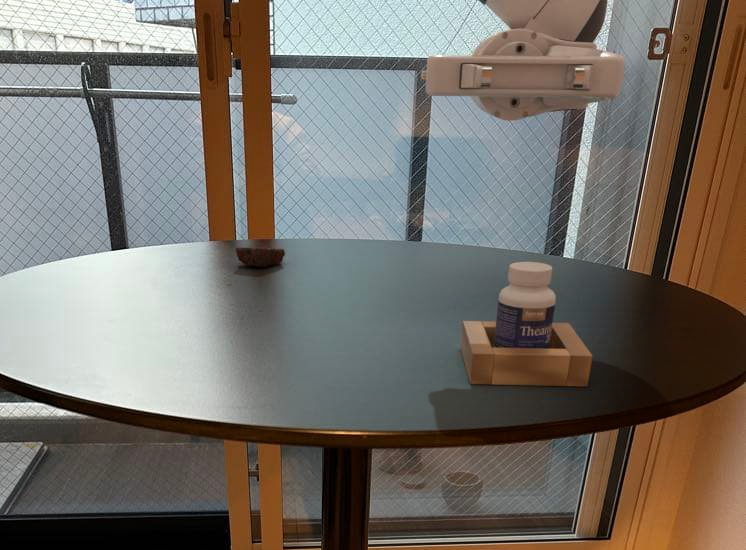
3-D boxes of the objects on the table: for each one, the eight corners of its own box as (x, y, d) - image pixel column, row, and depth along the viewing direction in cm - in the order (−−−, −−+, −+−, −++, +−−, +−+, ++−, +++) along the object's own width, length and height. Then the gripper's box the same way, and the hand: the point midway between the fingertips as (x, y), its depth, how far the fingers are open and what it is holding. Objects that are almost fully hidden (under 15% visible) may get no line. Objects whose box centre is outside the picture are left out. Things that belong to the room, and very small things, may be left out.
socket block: (564, 351, 85) (569, 322, 83) (587, 386, 75) (592, 355, 74) (460, 348, 85) (462, 320, 84) (469, 384, 76) (472, 353, 74)
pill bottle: (518, 379, 77) (531, 274, 72) (480, 364, 81) (490, 264, 76) (557, 369, 80) (572, 268, 75) (519, 355, 83) (531, 257, 78)
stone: (228, 267, 118) (227, 245, 117) (251, 258, 124) (251, 237, 123) (268, 271, 116) (267, 249, 115) (290, 262, 122) (290, 240, 120)
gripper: (421, 41, 89) (427, 38, 77) (608, 43, 88) (644, 39, 76) (418, 106, 92) (423, 112, 80) (598, 108, 91) (631, 115, 79)
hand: (532, 77), depth 78 cm, fingers open, 8 cm apart
